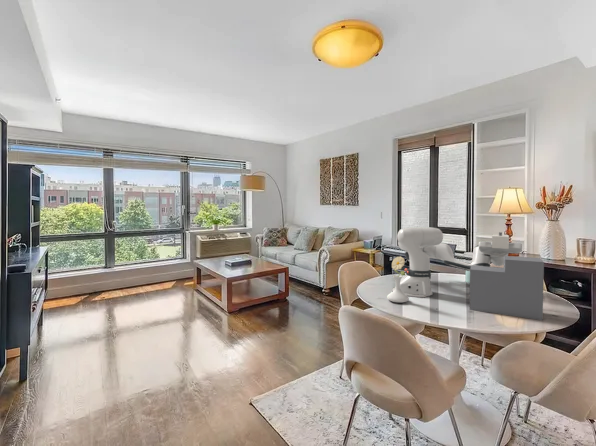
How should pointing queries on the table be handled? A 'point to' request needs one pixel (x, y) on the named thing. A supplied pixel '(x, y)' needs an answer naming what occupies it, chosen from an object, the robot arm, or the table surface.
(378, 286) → the table surface
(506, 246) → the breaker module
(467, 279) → the mint green angled piece
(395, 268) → the flower in vase
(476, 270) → the stand
